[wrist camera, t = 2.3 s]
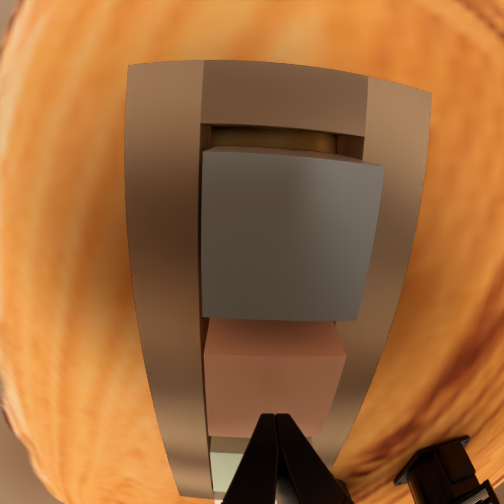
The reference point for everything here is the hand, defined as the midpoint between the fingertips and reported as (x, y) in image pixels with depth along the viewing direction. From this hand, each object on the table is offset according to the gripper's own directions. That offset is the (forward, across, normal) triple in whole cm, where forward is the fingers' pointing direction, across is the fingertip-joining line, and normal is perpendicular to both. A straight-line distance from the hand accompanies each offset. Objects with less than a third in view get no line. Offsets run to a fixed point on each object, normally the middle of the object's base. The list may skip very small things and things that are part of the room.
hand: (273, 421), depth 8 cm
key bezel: (+6, 0, +3) cm, 7 cm away
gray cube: (+5, 0, -5) cm, 7 cm away
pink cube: (+5, 0, 0) cm, 5 cm away
